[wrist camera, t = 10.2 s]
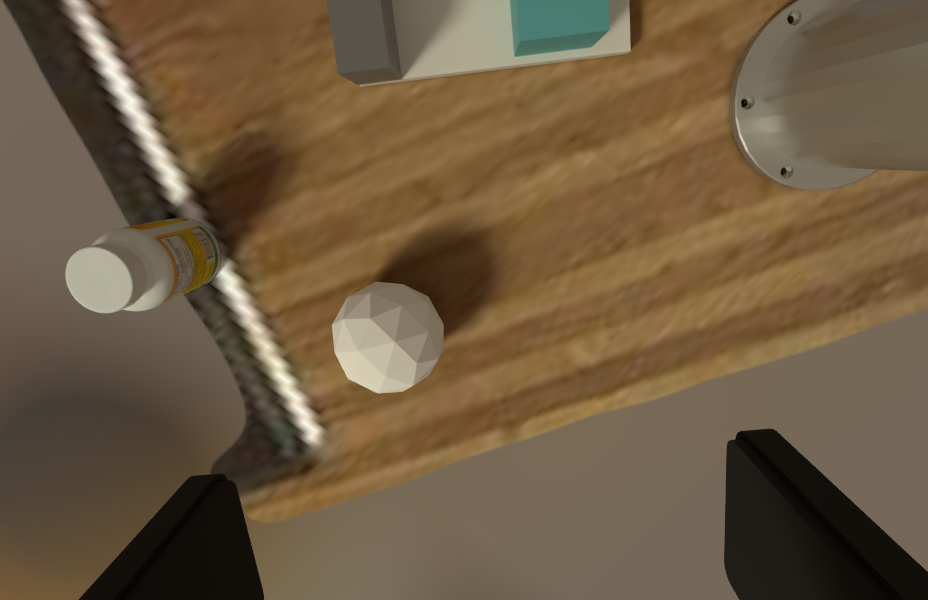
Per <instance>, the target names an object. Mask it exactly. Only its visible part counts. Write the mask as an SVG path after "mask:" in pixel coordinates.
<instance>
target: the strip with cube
mask: <svg viewBox="0 0 928 600" xmlns="http://www.w3.org/2000/svg"><path fill="white" fill-rule="evenodd" d="M327 7H328V13H329V19H330V25H331V32H332V38H333V44H334V50H335V57H336V63H337V69H338V74H340V75H341V76H343V77H345V78H347V79H348V80H350V81H352V82H354V83H355V84H357V85H359V86H361V87H362V86H370V85H378V84H386V83H394V82H403V81H411V80H419V79H427V78H435V77H443V76H451V75H459V74H468V73H476V72H484V71H492V70H500V69H508V68H516V67H524V66H533V65H541V64H549V63H557V62H565V61H573V60H581V59H589V58H597V57H606V56H614V55H622V54H627V53H629V52H630V51H631V46H630V8H629V0H609V29H610V30H609V31H608V32H607V33H606V34H605V35H604V36H603V37H602V38H601V39H600V40H599V41H598V42H597V43H596V44H595V45H593V46H592V47H591V48H584V49H576V50H568V51H560V52H552V53H544V54H536V55H527V56H519V57H514V48H513V35H512V22H511V9H510V0H327Z"/></svg>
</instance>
